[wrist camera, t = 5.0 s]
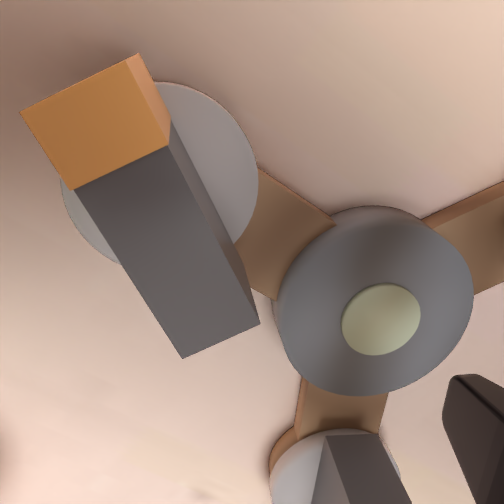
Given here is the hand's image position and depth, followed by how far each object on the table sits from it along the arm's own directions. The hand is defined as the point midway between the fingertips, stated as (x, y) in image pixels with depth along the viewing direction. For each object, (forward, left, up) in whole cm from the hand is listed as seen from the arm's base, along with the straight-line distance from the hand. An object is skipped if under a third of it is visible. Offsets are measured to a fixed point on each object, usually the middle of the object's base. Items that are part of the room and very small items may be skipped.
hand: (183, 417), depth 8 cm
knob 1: (+1, -1, -11) cm, 11 cm away
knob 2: (-8, +14, -11) cm, 19 cm away
